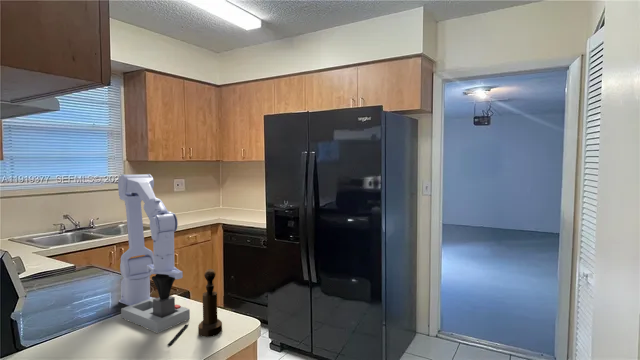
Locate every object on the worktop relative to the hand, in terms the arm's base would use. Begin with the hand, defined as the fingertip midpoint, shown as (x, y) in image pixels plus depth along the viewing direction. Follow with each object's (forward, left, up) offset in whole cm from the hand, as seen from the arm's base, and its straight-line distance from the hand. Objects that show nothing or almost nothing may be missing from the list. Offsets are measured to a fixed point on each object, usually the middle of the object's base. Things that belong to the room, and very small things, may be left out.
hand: (164, 298), depth 107 cm
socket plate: (-5, 0, -7) cm, 9 cm away
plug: (0, 0, -7) cm, 7 cm away
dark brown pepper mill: (+16, +3, -7) cm, 18 cm away
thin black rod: (+10, -3, -8) cm, 13 cm away
